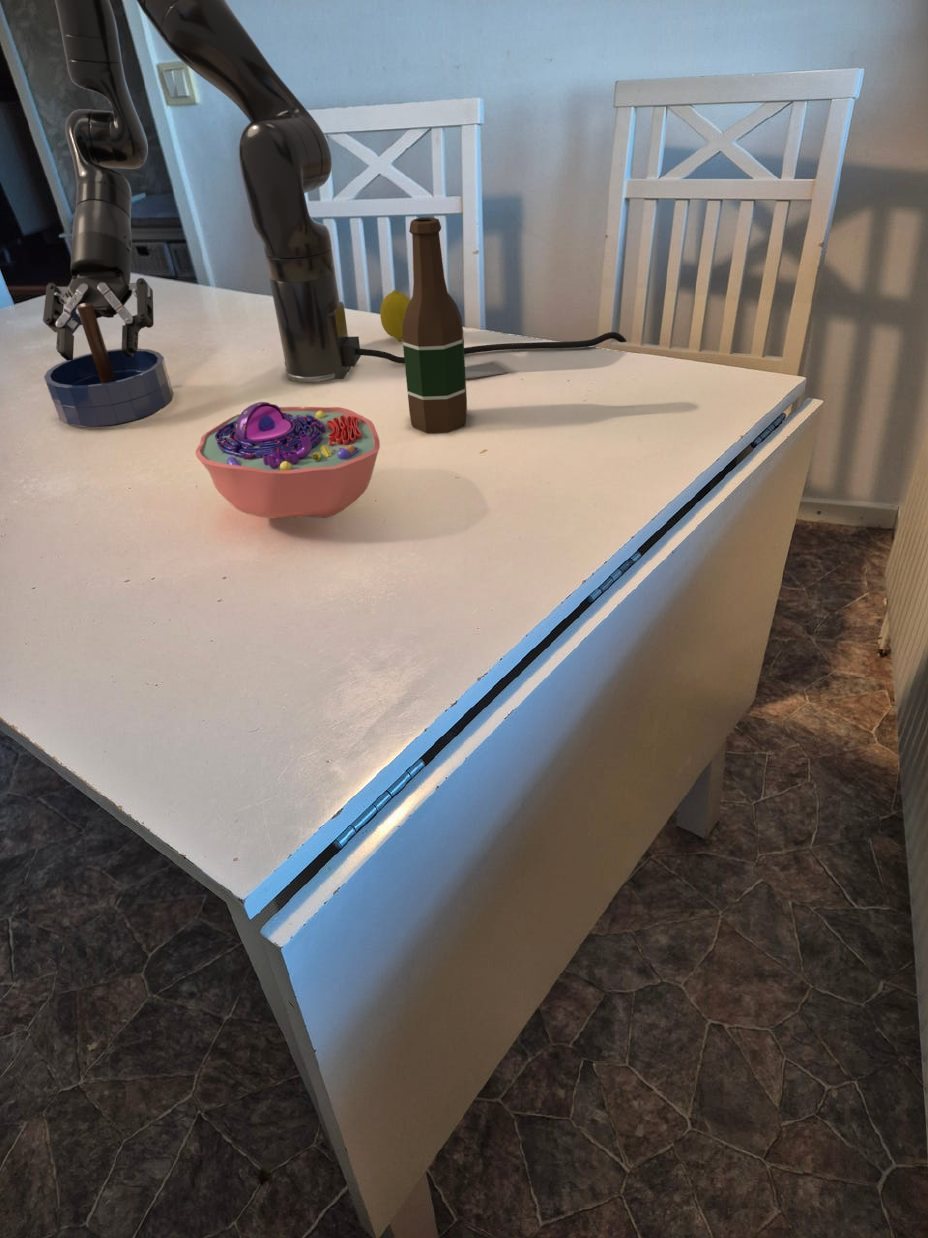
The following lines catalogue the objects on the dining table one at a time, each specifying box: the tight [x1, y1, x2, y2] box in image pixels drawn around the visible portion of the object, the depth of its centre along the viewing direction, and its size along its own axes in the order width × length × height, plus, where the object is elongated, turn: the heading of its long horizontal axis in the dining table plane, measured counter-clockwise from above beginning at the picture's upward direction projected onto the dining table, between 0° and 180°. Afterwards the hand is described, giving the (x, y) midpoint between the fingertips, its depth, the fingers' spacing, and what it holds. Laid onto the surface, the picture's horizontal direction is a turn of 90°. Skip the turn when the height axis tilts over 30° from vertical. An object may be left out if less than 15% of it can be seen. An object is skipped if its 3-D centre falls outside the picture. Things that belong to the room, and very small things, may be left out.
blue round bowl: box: [43, 347, 175, 428], centre depth 113 cm, size 16×16×6 cm
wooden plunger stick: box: [76, 303, 116, 384], centre depth 111 cm, size 6×6×14 cm
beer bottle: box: [402, 216, 468, 434], centre depth 98 cm, size 8×8×24 cm
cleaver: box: [465, 361, 510, 380], centre depth 118 cm, size 13×1×5 cm
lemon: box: [379, 289, 411, 342], centre depth 131 cm, size 6×6×8 cm
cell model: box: [195, 401, 381, 519], centre depth 85 cm, size 17×20×11 cm
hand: (97, 356), depth 109 cm, fingers open, 8 cm apart
